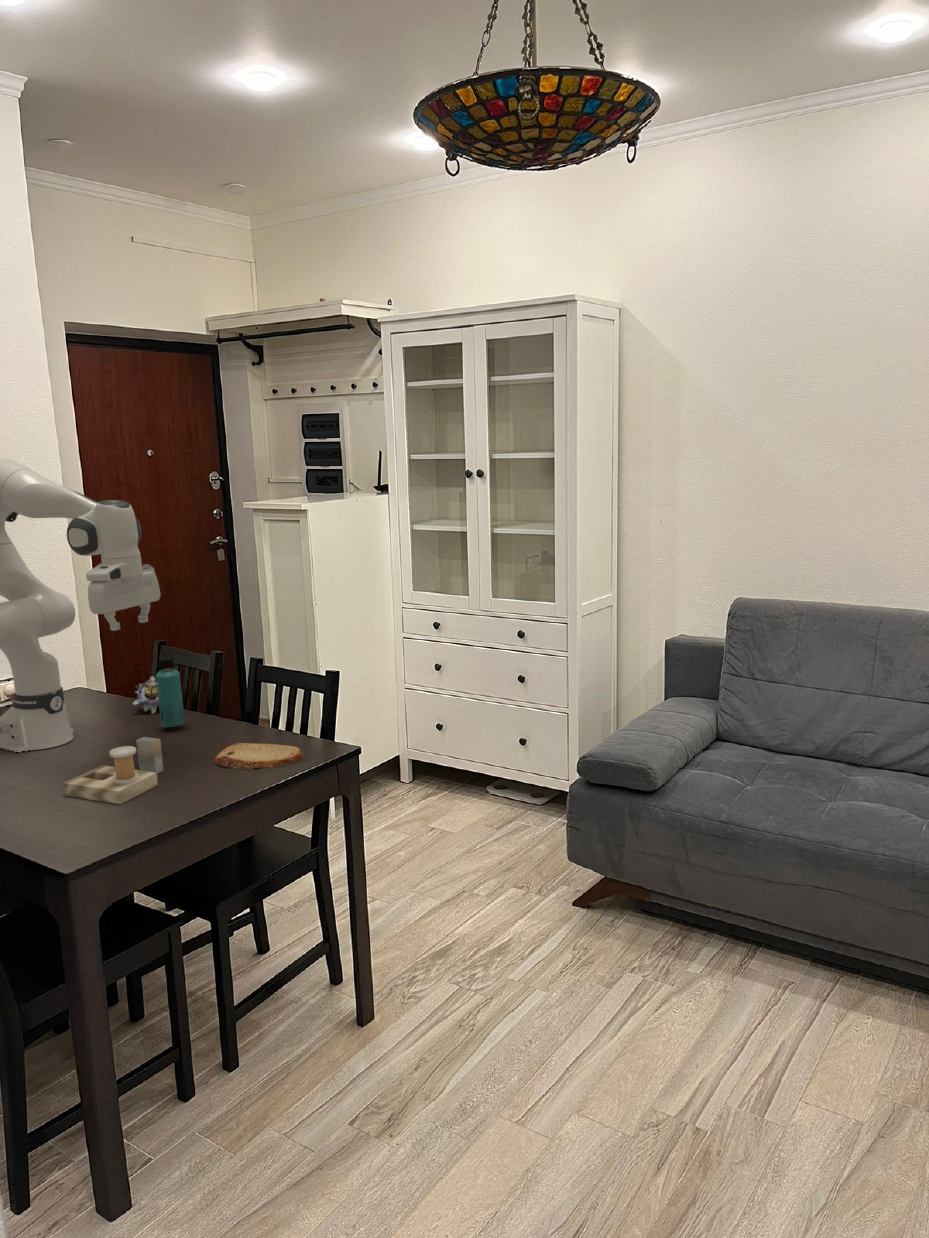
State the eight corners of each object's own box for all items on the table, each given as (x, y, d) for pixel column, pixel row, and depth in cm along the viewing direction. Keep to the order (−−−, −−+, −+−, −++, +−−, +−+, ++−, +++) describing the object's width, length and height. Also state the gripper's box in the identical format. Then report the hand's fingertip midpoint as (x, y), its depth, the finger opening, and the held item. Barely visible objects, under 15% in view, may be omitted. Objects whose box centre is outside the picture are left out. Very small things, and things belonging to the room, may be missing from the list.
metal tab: (139, 771, 226) (136, 739, 224) (147, 768, 228) (143, 736, 226) (156, 774, 224) (152, 741, 222) (163, 770, 226) (160, 738, 224)
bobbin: (107, 782, 210) (103, 752, 209) (125, 774, 215) (122, 745, 214) (126, 785, 208) (123, 755, 207) (144, 777, 213) (141, 747, 212)
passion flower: (155, 731, 276) (128, 704, 270) (152, 715, 285) (125, 688, 279) (186, 706, 277) (160, 679, 271) (182, 691, 286) (156, 664, 280)
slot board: (64, 795, 212) (63, 782, 211) (104, 777, 223) (102, 765, 222) (120, 804, 206) (118, 791, 205) (157, 785, 216) (156, 772, 216)
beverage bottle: (190, 727, 260) (184, 656, 256) (171, 733, 254) (164, 661, 251) (174, 723, 263) (167, 654, 260) (155, 730, 258) (148, 659, 254)
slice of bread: (310, 759, 232) (309, 744, 231) (246, 779, 219) (245, 764, 218) (269, 744, 244) (268, 730, 243) (206, 762, 232) (205, 747, 231)
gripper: (142, 563, 234) (149, 617, 236) (80, 575, 216) (88, 634, 218) (162, 562, 231) (169, 618, 234) (101, 575, 213) (109, 634, 215)
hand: (129, 626), depth 226 cm, fingers open, 8 cm apart
